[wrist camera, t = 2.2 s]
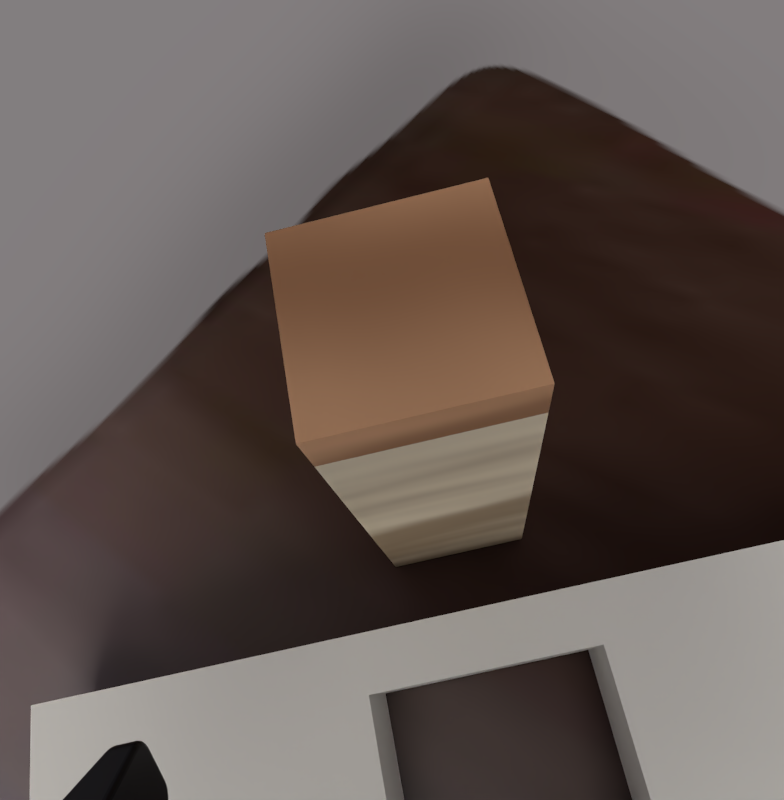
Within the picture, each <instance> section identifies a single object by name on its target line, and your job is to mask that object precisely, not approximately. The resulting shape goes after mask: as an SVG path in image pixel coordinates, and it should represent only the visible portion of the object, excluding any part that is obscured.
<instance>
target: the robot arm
mask: <svg viewBox="0 0 784 800" xmlns="http://www.w3.org/2000/svg"><path fill="white" fill-rule="evenodd" d="M63 800H168V789H167V785H166V782H165V780H164V778H163V776H162V774H161V772H160V770H159V768H158V766H157V764H156V762H155V760H154V758H153V756H152V754H151V752H150V750H149V748H148V746H147V745H146V744H145V743H144V742H142V741H133V742H129V743H124V744H120V745H115V746H113V747H111V748H110V749H108V750H107V751H106V752H105V753H104V754H103V756H102V757H101V758H100V759H99V760H98V761H97V762H96V763H95V764H94V766H93V767H92V768H91V769H90V770H89V771H88V772H87V773H86V774H85V776H84V777H83V778H82V779H81V780H80V781H79V782H78V783H77V784H76V785H75V787H74V788H73V789H72V790H71V791H70V792H69V793H68V794H67V795H66V797H65V798H64V799H63Z"/></svg>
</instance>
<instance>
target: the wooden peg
mask: <svg viewBox="0 0 784 800" xmlns="http://www.w3.org/2000/svg"><path fill="white" fill-rule="evenodd" d="M265 239H266V245H267V252H268V259H269V266H270V272H271V279H272V286H273V293H274V300H275V306H276V313H277V320H278V327H279V333H280V340H281V347H282V354H283V360H284V367H285V374H286V381H287V387H288V394H289V401H290V408H291V414H292V421H293V428H294V435H295V441H296V445H297V446H298V447H299V448H300V450H301V451H302V452H303V453H304V455H305V456H306V457H307V458H308V459H309V461H310V462H311V463H312V464H313V466H314V467H315V468H316V469H317V471H318V472H319V473H320V474H321V475H322V477H323V478H324V479H325V480H326V482H327V483H328V484H329V485H330V487H331V488H332V489H333V490H334V492H335V493H336V494H337V495H338V496H339V498H340V499H341V500H342V501H343V503H344V504H345V505H346V506H347V508H348V509H349V510H350V511H351V512H352V514H353V515H354V516H355V517H356V519H357V520H358V521H359V522H360V524H361V525H362V526H363V527H364V528H365V530H366V531H367V532H368V533H369V535H370V536H371V537H372V538H373V540H374V541H375V542H376V543H377V545H378V546H379V547H380V548H381V549H382V551H383V552H384V553H385V554H386V556H387V557H388V558H389V559H390V561H391V562H392V563H393V564H394V565H395V567H398V566H403V565H407V564H412V563H416V562H421V561H425V560H430V559H434V558H439V557H443V556H448V555H452V554H457V553H461V552H465V551H470V550H474V549H479V548H483V547H488V546H492V545H497V544H501V543H506V542H510V541H515V540H519V539H522V535H523V530H524V526H525V521H526V516H527V512H528V507H529V502H530V497H531V493H532V488H533V483H534V479H535V474H536V469H537V464H538V460H539V455H540V450H541V445H542V441H543V436H544V431H545V427H546V422H547V417H548V412H549V408H550V403H551V398H552V394H553V389H554V384H555V383H554V380H553V377H552V374H551V371H550V368H549V365H548V361H547V358H546V355H545V352H544V349H543V346H542V343H541V340H540V337H539V334H538V330H537V327H536V324H535V321H534V318H533V315H532V312H531V309H530V306H529V302H528V299H527V296H526V293H525V290H524V287H523V284H522V281H521V278H520V275H519V271H518V268H517V265H516V262H515V259H514V256H513V253H512V250H511V247H510V244H509V240H508V237H507V234H506V231H505V228H504V225H503V222H502V219H501V216H500V213H499V209H498V206H497V203H496V200H495V197H494V194H493V191H492V188H491V185H490V182H489V178H485V179H481V180H477V181H473V182H469V183H465V184H461V185H457V186H453V187H449V188H445V189H441V190H437V191H433V192H429V193H425V194H421V195H417V196H413V197H408V198H404V199H400V200H396V201H392V202H388V203H384V204H380V205H376V206H372V207H368V208H364V209H360V210H356V211H352V212H348V213H344V214H340V215H336V216H332V217H328V218H324V219H320V220H316V221H312V222H308V223H304V224H300V225H296V226H292V227H288V228H284V229H280V230H276V231H272V232H268V233H265Z"/></svg>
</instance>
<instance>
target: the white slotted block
mask: <svg viewBox="0 0 784 800" xmlns="http://www.w3.org/2000/svg"><path fill="white" fill-rule="evenodd" d="M585 650H588V651H589V654H590V658H591V661H592V664H593V668H594V671H595V675H596V678H597V682H598V685H599V688H600V692H601V695H602V699H603V702H604V705H605V709H606V712H607V716H608V719H609V722H610V726H611V729H612V733H613V736H614V739H615V743H616V746H617V750H618V753H619V756H620V760H621V763H622V767H623V770H624V774H625V777H626V780H627V784H628V787H629V791H630V794H631V797H632V800H784V540H782V541H777V542H773V543H768V544H764V545H759V546H754V547H750V548H745V549H741V550H736V551H732V552H727V553H723V554H718V555H714V556H709V557H704V558H700V559H695V560H691V561H686V562H682V563H677V564H673V565H668V566H663V567H659V568H654V569H650V570H645V571H641V572H636V573H632V574H627V575H623V576H618V577H613V578H609V579H604V580H600V581H595V582H591V583H586V584H582V585H577V586H572V587H568V588H563V589H559V590H554V591H550V592H545V593H541V594H536V595H531V596H527V597H522V598H518V599H513V600H509V601H504V602H500V603H495V604H491V605H486V606H481V607H477V608H472V609H468V610H463V611H459V612H454V613H450V614H445V615H440V616H436V617H431V618H427V619H422V620H418V621H413V622H409V623H404V624H400V625H395V626H390V627H386V628H381V629H377V630H372V631H368V632H363V633H359V634H354V635H349V636H345V637H340V638H336V639H331V640H327V641H322V642H318V643H313V644H308V645H304V646H299V647H295V648H290V649H286V650H281V651H277V652H272V653H268V654H263V655H258V656H254V657H249V658H245V659H240V660H236V661H231V662H227V663H222V664H217V665H213V666H208V667H204V668H199V669H195V670H190V671H186V672H181V673H177V674H172V675H167V676H163V677H158V678H154V679H149V680H145V681H140V682H136V683H131V684H126V685H122V686H117V687H113V688H108V689H104V690H99V691H95V692H90V693H85V694H81V695H76V696H72V697H67V698H63V699H58V700H54V701H49V702H45V703H40V704H35V705H31V740H30V800H63V799H64V798H65V797H66V795H67V794H68V793H69V792H70V791H71V790H72V789H73V788H74V787H75V785H76V784H77V783H78V782H79V781H80V780H81V779H82V778H83V777H84V776H85V774H86V773H87V772H88V771H89V770H90V769H91V768H92V767H93V766H94V764H95V763H96V762H97V761H98V760H99V759H100V758H101V757H102V756H103V754H104V753H105V752H106V751H107V750H108V749H110V748H111V747H113V746H115V745H120V744H124V743H129V742H133V741H142V742H144V743H145V744H146V745H147V746H148V748H149V750H150V752H151V754H152V756H153V758H154V760H155V762H156V764H157V766H158V768H159V770H160V772H161V774H162V776H163V778H164V780H165V782H166V785H167V789H168V800H404V795H403V789H402V784H401V778H400V772H399V767H398V761H397V755H396V750H395V744H394V738H393V733H392V727H391V721H390V716H389V710H388V704H387V699H386V693H390V692H395V691H400V690H404V689H409V688H413V687H418V686H423V685H427V684H432V683H437V682H441V681H446V680H451V679H455V678H460V677H465V676H469V675H474V674H479V673H483V672H488V671H492V670H497V669H502V668H506V667H511V666H516V665H520V664H525V663H530V662H534V661H539V660H544V659H548V658H553V657H558V656H562V655H567V654H571V653H576V652H581V651H585Z"/></svg>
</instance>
